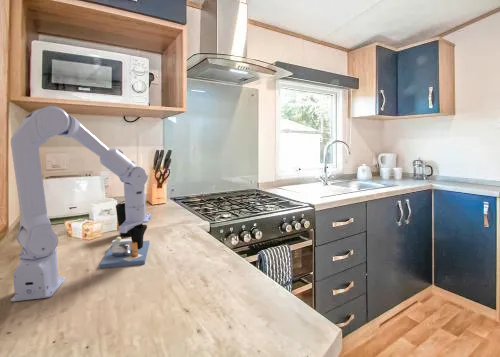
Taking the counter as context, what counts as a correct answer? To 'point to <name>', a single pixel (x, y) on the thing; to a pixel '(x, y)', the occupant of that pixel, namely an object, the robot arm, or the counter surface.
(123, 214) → the cup
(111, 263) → the plate
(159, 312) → the counter surface
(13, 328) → the counter surface
